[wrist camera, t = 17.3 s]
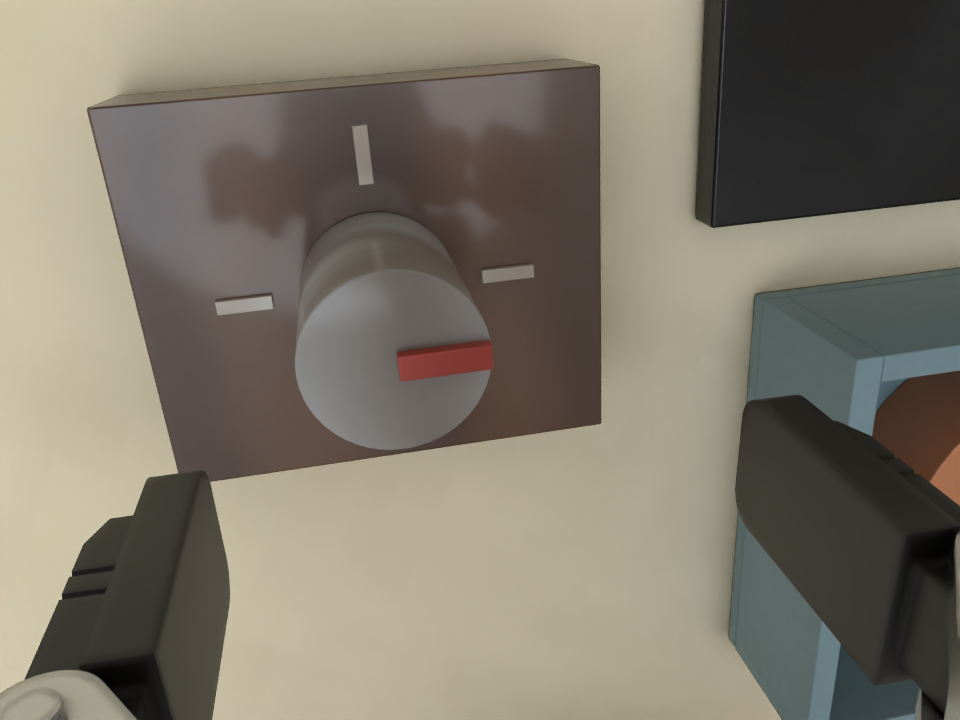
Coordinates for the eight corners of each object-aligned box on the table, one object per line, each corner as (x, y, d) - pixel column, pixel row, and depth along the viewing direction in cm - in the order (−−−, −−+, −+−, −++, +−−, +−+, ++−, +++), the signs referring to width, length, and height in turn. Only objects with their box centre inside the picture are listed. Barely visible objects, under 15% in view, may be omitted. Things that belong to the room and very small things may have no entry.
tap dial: (312, 368, 21) (310, 471, 17) (288, 220, 20) (278, 286, 15) (460, 349, 22) (500, 442, 17) (449, 203, 20) (489, 262, 16)
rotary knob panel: (196, 435, 25) (180, 490, 22) (116, 95, 21) (83, 108, 18) (572, 382, 27) (603, 426, 24) (566, 58, 22) (602, 65, 20)
